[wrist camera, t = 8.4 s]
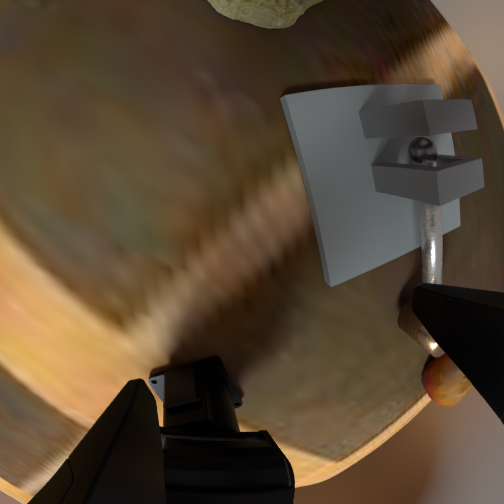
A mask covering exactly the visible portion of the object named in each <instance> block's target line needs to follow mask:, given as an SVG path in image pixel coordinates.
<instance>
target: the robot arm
mask: <svg viewBox="0 0 504 504" xmlns="http://www.w3.org/2000/svg"><path fill="white" fill-rule="evenodd" d="M412 310H413V313H414V314H415V316H416V317H417V318H418V320H419V321H420V322H421V323H422V325H423V326H424V327H425V329H426V330H427V331H428V333H429V334H430V335H431V337H432V338H433V339H434V341H435V342H436V343H437V344H438V346H439V347H440V348H441V349H442V350H443V351H444V352H445V353H446V355H447V356H448V357H449V358H450V359H451V360H452V361H453V363H454V364H455V365H456V366H457V367H458V368H459V369H460V371H461V372H462V373H463V374H464V375H465V376H466V378H467V379H468V380H469V381H470V382H471V384H472V385H473V386H474V387H475V388H476V390H477V391H478V392H479V393H480V395H481V396H482V397H483V398H484V399H485V401H486V402H487V403H488V405H489V406H490V407H491V408H492V410H493V411H494V412H495V414H496V415H497V416H498V417H499V419H500V420H501V421H502V423H503V424H504V293H503V292H495V291H487V290H479V289H471V288H463V287H455V286H447V285H440V284H432V283H421V284H419V285H417V286H415V287H414V290H413V300H412ZM213 362H217V363H213ZM153 380H156V381H153ZM148 382H149V384H150V385H151V387H152V388H153V389H154V391H155V392H156V393H157V395H158V396H159V398H160V399H161V400H162V401H163V408H164V409H163V427H161V426H159V420H158V413H157V405H156V400H155V398H154V396H153V394H152V393H151V391H150V389H149V388H148V386H147V385H146V383H145V381H144V380H143V379H141V378H139V379H134V380H130V381H128V382H127V384H126V385H125V386H124V387H123V389H122V390H121V391H120V392H119V394H118V395H117V396H116V397H115V398H114V400H113V401H112V402H111V403H110V405H109V406H108V407H107V408H106V410H105V411H104V412H103V414H102V415H101V416H100V417H99V419H98V420H97V421H96V422H95V424H94V425H93V426H92V427H91V429H90V430H89V431H88V432H87V434H86V435H85V436H84V438H83V439H82V440H81V441H80V443H79V444H78V445H77V446H76V448H75V449H74V450H73V452H72V453H71V454H70V455H69V459H68V458H67V459H66V460H65V462H64V463H63V464H62V466H61V467H60V468H59V469H58V471H57V472H56V473H55V474H54V475H53V477H52V478H51V479H50V480H49V481H48V482H47V483H46V484H45V486H44V487H43V488H42V489H41V490H40V491H39V492H38V493H37V494H36V495H35V496H34V497H33V498H32V499H31V500H30V501H29V502H28V503H27V504H293V499H294V492H295V479H294V473H293V469H292V466H291V464H290V462H289V461H288V459H287V458H286V456H285V455H284V454H283V452H282V451H281V450H280V448H279V447H278V446H277V444H276V443H275V441H274V440H273V439H272V437H271V436H270V434H269V433H268V432H267V430H260V431H259V432H240V430H239V426H238V422H237V418H236V414H235V410H234V409H235V408H238V407H240V406H242V404H243V403H242V399H241V398H240V396H239V394H238V392H237V390H236V388H235V386H234V384H233V382H232V380H231V378H230V376H229V374H228V372H227V370H226V368H225V366H224V364H223V362H222V360H221V358H220V357H217V356H214V357H210V358H207V359H204V360H201V361H198V362H194V363H191V364H187V365H184V366H181V367H177V368H174V369H170V370H167V371H164V372H160V373H156V374H153V375H150V376H149V381H148ZM237 402H238V403H237Z"/></svg>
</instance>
